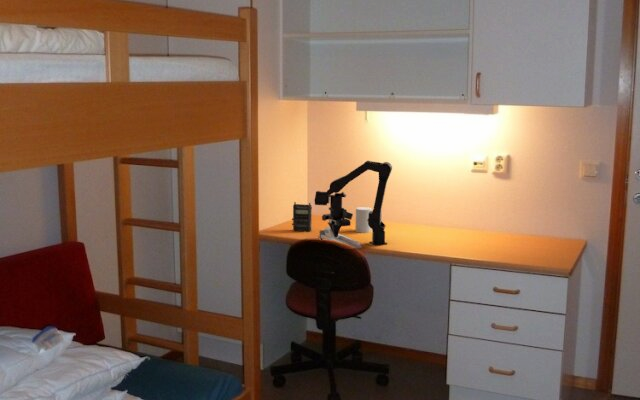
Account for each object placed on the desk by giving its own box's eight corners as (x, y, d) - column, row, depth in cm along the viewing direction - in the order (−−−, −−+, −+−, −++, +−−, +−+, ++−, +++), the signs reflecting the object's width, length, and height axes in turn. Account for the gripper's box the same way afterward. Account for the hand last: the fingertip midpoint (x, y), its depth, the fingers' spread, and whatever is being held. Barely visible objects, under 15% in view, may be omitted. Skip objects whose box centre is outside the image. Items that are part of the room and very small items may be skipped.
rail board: (362, 247, 338) (362, 239, 338) (343, 249, 334) (343, 241, 333) (335, 236, 361) (336, 228, 360) (318, 238, 357) (318, 230, 356)
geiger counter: (290, 231, 373) (290, 202, 371) (293, 229, 378) (293, 201, 375) (310, 232, 371) (310, 203, 369) (312, 230, 375) (312, 202, 373)
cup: (371, 229, 379) (371, 207, 377) (370, 232, 371) (371, 210, 369) (355, 229, 380) (356, 206, 378) (355, 232, 372) (355, 209, 370)
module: (338, 238, 354) (338, 228, 353) (329, 239, 351) (329, 229, 351) (333, 236, 358) (333, 226, 357) (324, 237, 356) (324, 227, 355)
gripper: (360, 207, 343) (359, 239, 346) (341, 201, 360) (340, 232, 362) (340, 209, 338) (339, 241, 341) (321, 203, 355) (321, 234, 357)
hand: (335, 237), depth 350 cm, fingers closed
